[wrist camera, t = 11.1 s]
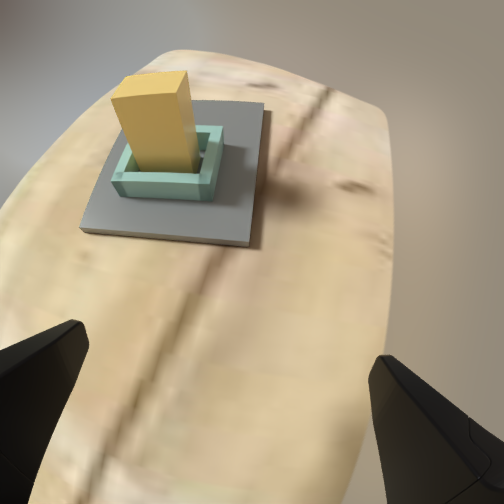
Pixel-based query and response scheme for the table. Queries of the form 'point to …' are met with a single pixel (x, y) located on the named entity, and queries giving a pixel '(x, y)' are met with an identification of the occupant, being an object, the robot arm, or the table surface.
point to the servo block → (159, 121)
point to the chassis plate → (185, 184)
